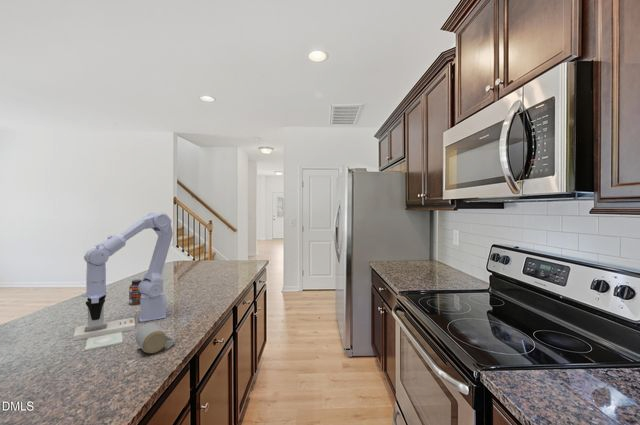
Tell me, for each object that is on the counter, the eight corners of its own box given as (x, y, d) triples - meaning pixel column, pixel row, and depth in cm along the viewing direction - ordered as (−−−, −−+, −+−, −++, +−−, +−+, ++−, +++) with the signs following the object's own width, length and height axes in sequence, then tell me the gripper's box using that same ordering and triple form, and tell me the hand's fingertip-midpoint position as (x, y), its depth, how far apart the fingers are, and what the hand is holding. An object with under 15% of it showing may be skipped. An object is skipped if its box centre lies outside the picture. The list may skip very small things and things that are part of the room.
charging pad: (122, 333, 109) (122, 331, 109) (122, 343, 101) (122, 341, 101) (87, 340, 104) (87, 338, 104) (84, 351, 95) (84, 349, 95)
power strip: (133, 321, 121) (133, 316, 121) (134, 329, 113) (134, 323, 113) (76, 331, 111) (76, 325, 111) (73, 340, 103) (73, 334, 103)
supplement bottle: (130, 306, 141) (130, 282, 141) (127, 303, 145) (128, 280, 145) (144, 303, 145) (144, 280, 145) (142, 301, 149) (142, 278, 149)
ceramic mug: (142, 358, 91) (143, 332, 91) (134, 349, 97) (135, 325, 97) (178, 347, 99) (179, 324, 99) (169, 340, 104) (169, 318, 104)
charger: (103, 321, 113) (103, 303, 113) (103, 325, 110) (103, 306, 110) (88, 324, 111) (88, 305, 111) (87, 327, 108) (87, 308, 108)
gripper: (84, 278, 114) (84, 314, 114) (80, 286, 102) (80, 326, 102) (107, 276, 118) (107, 310, 118) (105, 283, 106) (105, 322, 106)
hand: (96, 317), depth 111 cm, fingers closed on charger, 4 cm apart
